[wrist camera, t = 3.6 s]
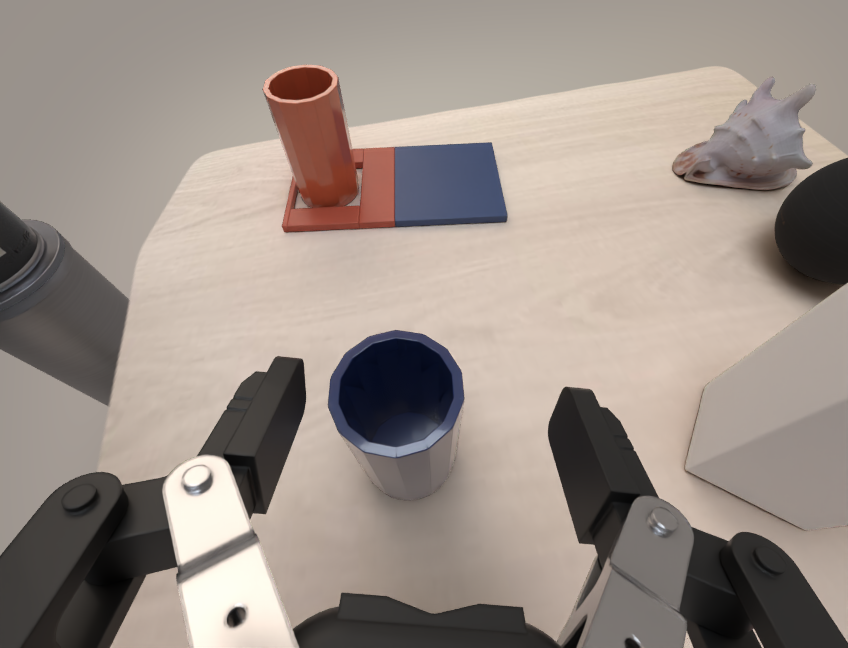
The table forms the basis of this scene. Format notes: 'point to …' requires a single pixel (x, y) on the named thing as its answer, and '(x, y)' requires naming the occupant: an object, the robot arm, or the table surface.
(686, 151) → the seashell
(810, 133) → the table surface
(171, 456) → the table surface
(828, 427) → the milk carton
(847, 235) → the speaker
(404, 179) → the sorting board
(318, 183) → the red cup
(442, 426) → the blue cup
